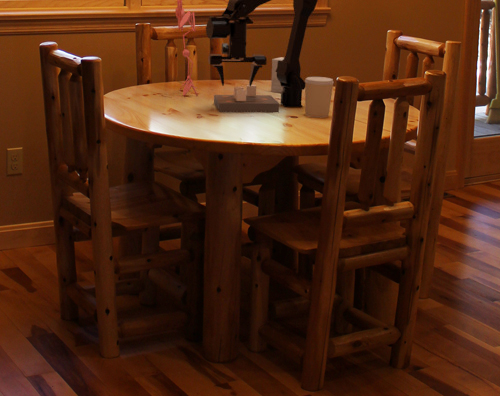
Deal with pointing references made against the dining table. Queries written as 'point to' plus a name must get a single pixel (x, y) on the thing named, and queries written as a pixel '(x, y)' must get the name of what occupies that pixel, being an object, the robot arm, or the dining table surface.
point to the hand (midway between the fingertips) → (236, 85)
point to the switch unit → (246, 104)
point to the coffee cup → (318, 96)
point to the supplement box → (274, 81)
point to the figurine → (182, 21)
